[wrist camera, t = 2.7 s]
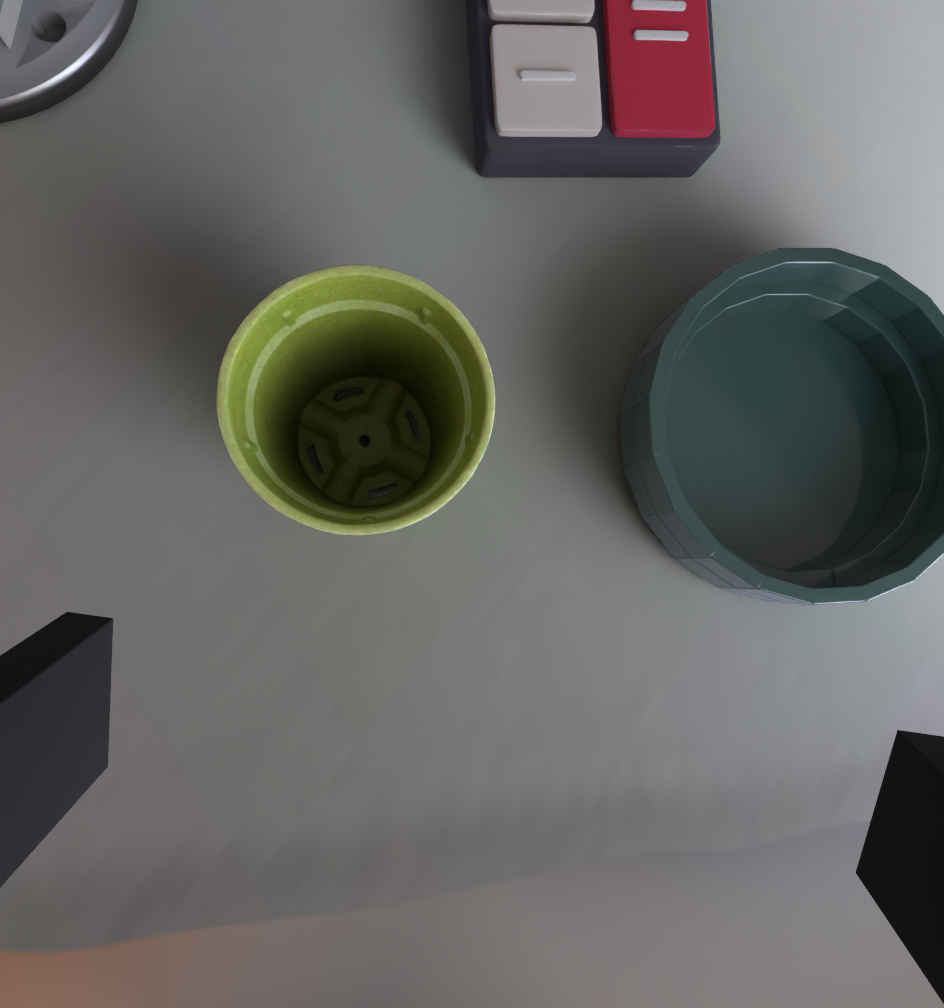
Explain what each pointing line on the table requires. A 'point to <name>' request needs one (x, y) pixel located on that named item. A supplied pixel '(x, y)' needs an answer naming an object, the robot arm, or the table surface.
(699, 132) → the calculator
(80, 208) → the table surface
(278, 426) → the plant pot
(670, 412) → the bowl
